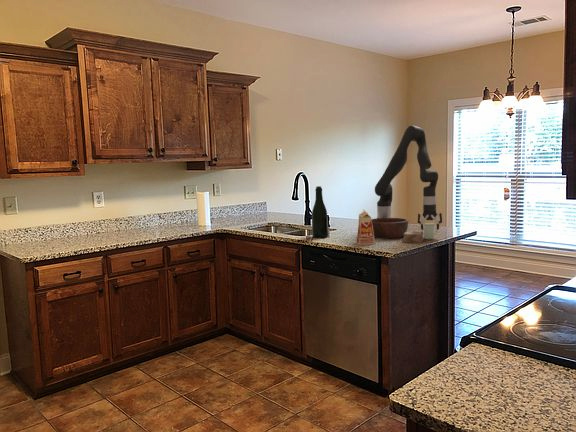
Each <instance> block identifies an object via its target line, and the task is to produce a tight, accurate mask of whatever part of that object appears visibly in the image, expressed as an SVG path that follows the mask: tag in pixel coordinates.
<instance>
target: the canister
mask: <svg viewBox="0 0 576 432" xmlns="http://www.w3.org/2000/svg"><path fill="white" fill-rule="evenodd" d="M434 230H435V223H434V222H429V223H427V222H424V223H423V239H424V240H435V231H434Z"/></svg>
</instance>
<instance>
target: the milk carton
mask: <svg viewBox="0 0 576 432" xmlns="http://www.w3.org/2000/svg"><path fill="white" fill-rule="evenodd" d="M372 219H373V218H372V216H370V215H369V213H368V212H367V211H366V210H365V209H364V208H363V210H362V211H361V213H359V214H358V227H357V233H356V234H357V235H356V241H355V243H356V244H357V245H359V246H360V245H362V246H363V245H364V246H366V245H367V246H368V245H375V237H374V232H373V225H372Z"/></svg>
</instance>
